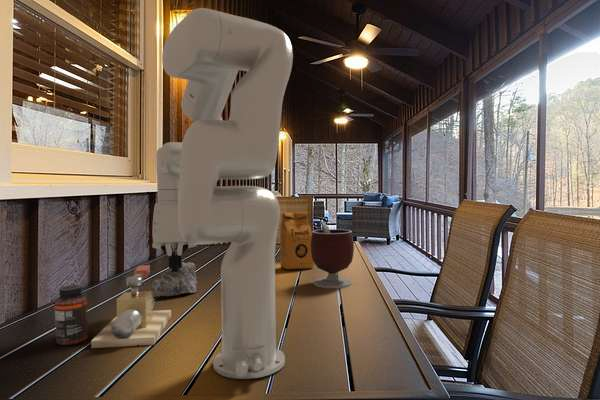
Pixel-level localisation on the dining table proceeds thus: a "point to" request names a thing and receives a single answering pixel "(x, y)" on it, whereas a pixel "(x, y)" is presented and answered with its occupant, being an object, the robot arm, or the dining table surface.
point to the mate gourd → (332, 255)
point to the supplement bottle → (71, 316)
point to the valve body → (132, 312)
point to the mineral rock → (176, 281)
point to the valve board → (134, 333)
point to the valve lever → (138, 276)
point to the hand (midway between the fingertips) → (175, 271)
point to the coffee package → (295, 241)
